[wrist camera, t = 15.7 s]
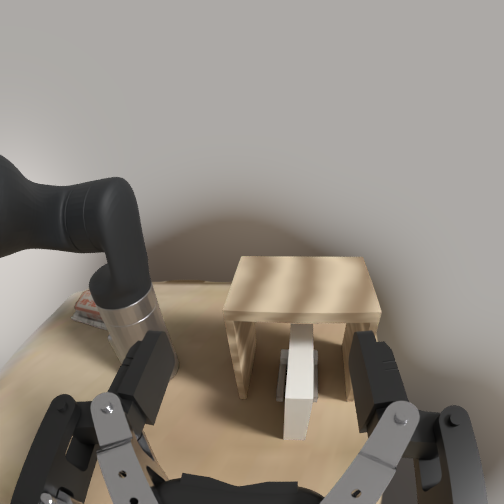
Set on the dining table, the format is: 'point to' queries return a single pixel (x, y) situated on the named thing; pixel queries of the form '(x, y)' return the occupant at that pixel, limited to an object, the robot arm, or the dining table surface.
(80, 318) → the packaged product
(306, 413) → the white box
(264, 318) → the wooden arch
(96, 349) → the dining table surface
